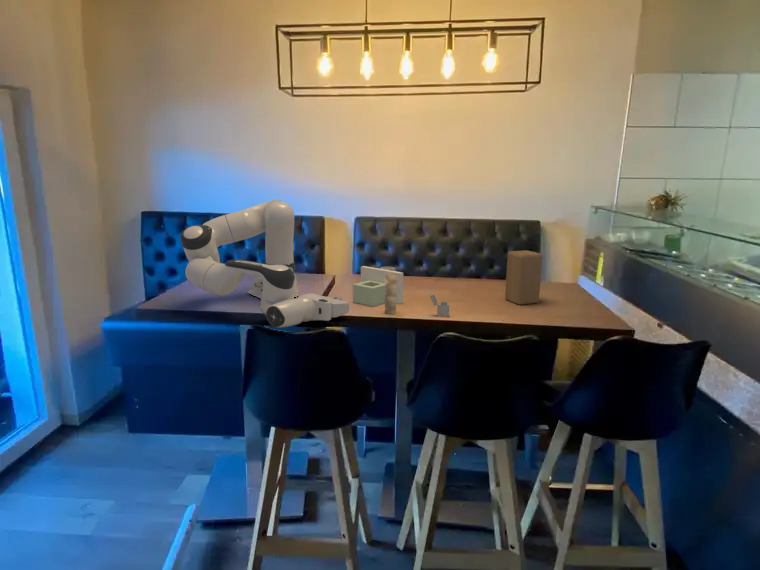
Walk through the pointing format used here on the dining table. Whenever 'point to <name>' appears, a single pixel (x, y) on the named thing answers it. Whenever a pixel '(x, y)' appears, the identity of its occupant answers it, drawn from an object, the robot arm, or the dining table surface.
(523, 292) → the wooden block
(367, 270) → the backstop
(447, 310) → the lighter
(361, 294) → the green square bin
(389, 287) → the dowel
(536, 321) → the dining table surface
